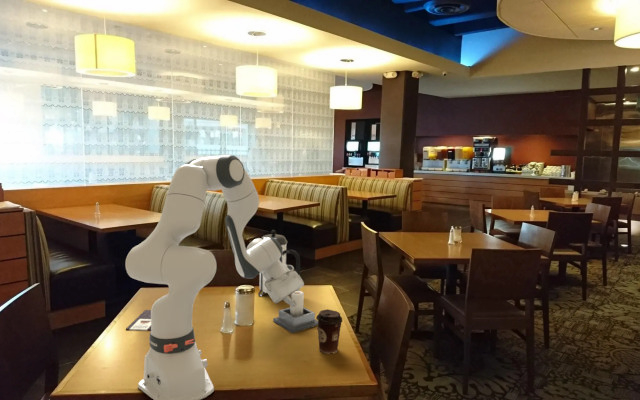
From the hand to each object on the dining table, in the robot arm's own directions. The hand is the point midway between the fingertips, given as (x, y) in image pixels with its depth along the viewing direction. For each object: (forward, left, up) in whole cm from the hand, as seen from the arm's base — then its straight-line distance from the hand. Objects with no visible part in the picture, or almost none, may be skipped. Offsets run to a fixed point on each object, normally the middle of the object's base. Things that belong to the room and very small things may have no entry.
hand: (298, 303), depth 161 cm
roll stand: (+1, 0, -8) cm, 8 cm away
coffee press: (+35, -12, -8) cm, 37 cm away
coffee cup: (-23, +4, -8) cm, 25 cm away
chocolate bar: (+35, +46, -9) cm, 58 cm away
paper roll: (+1, 0, -6) cm, 6 cm away
